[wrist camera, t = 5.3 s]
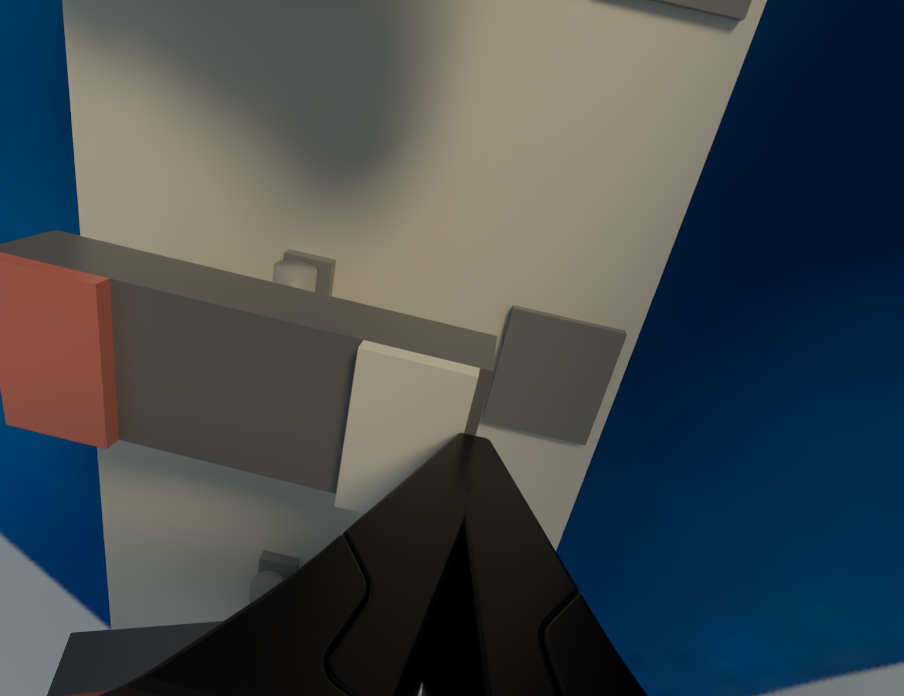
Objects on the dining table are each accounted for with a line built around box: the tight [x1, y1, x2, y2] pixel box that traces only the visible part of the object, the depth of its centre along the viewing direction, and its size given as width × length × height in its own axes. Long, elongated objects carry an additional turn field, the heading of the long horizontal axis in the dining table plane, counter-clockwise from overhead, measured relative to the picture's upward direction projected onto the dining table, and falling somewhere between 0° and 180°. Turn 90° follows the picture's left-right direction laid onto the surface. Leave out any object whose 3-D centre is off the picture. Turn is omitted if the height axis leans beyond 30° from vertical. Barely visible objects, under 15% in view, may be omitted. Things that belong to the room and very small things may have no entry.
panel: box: [62, 0, 767, 630], centre depth 12 cm, size 12×30×3 cm, turn 168°
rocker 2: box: [47, 571, 423, 696], centre depth 14 cm, size 8×3×3 cm, turn 79°
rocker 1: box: [0, 230, 497, 514], centre depth 10 cm, size 8×3×3 cm, turn 78°
